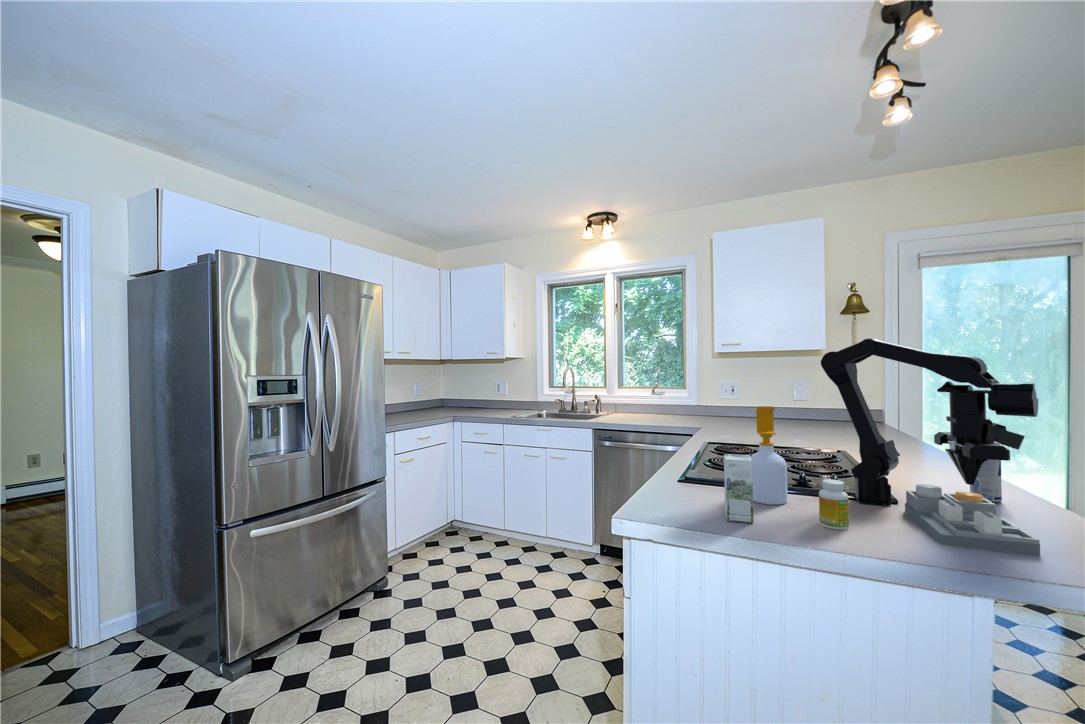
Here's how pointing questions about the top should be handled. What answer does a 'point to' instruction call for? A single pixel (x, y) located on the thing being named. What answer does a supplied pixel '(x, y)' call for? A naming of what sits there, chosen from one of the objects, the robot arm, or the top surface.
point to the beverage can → (989, 481)
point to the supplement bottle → (833, 505)
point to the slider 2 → (987, 523)
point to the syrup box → (738, 488)
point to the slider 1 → (950, 511)
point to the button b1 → (928, 491)
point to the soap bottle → (768, 463)
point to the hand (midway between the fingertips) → (969, 484)
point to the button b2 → (968, 496)
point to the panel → (968, 526)
